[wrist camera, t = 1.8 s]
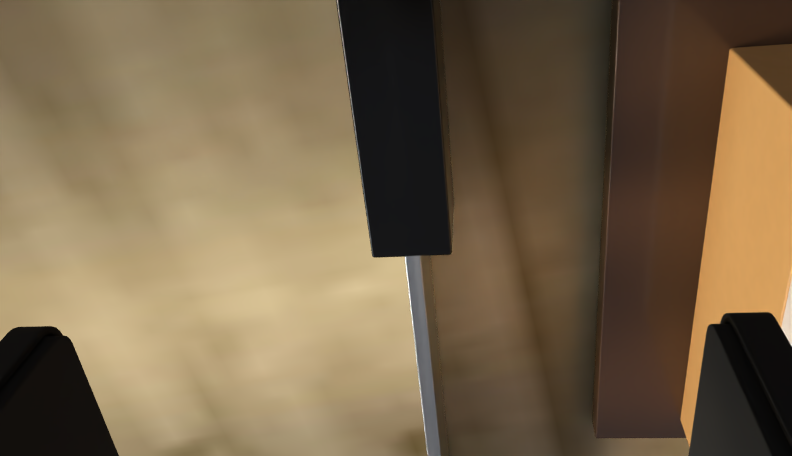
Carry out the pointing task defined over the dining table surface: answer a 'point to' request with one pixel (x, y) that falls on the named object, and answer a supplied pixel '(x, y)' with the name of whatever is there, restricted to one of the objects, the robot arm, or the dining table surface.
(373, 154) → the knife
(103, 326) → the dining table surface
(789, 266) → the cake
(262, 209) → the dining table surface
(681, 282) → the cake board
